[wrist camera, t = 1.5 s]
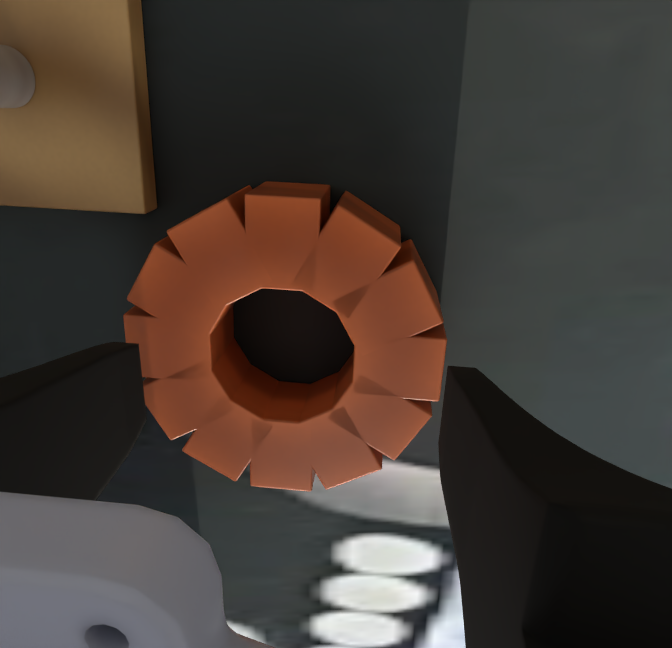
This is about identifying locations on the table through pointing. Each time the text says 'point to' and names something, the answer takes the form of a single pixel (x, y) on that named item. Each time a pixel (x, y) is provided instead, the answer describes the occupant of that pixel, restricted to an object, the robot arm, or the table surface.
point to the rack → (75, 106)
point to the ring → (255, 385)
